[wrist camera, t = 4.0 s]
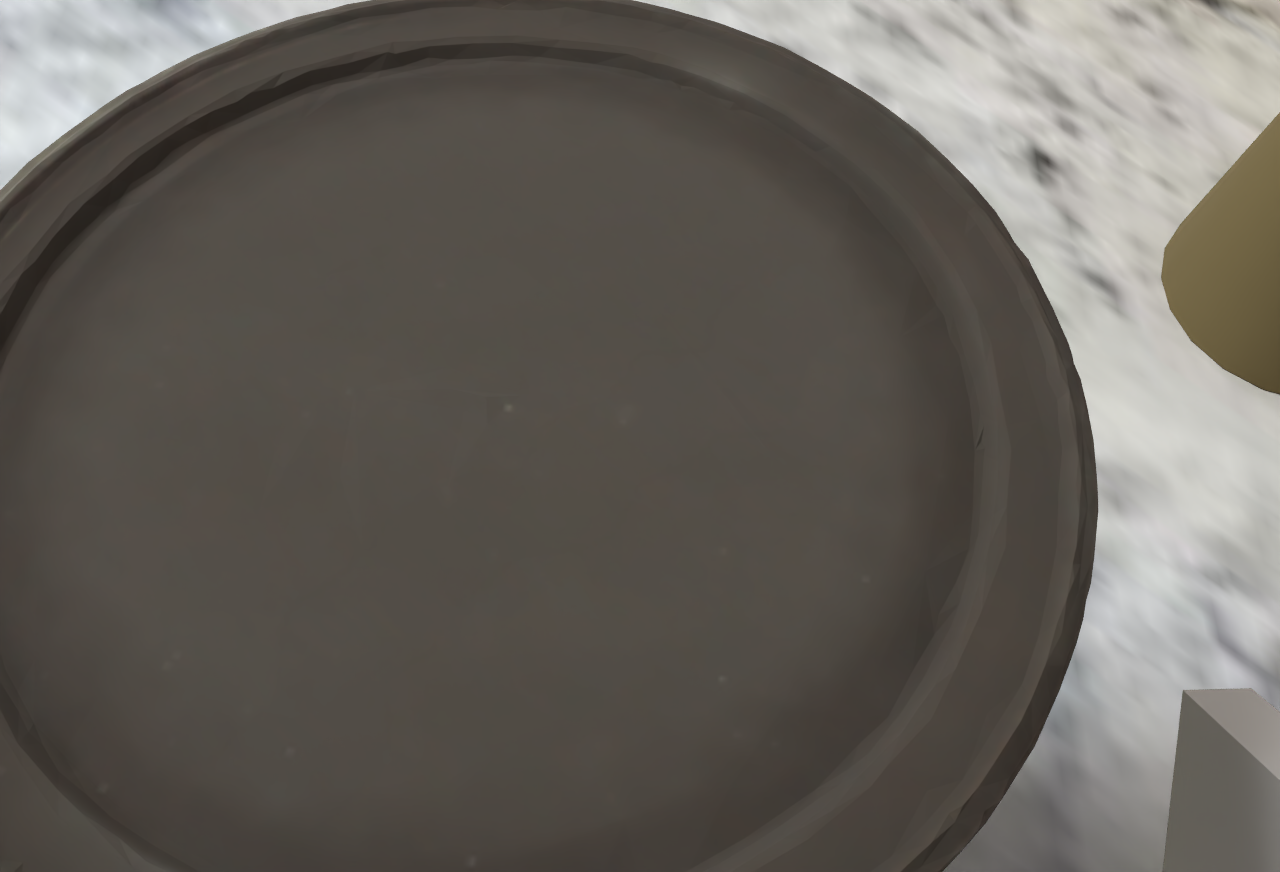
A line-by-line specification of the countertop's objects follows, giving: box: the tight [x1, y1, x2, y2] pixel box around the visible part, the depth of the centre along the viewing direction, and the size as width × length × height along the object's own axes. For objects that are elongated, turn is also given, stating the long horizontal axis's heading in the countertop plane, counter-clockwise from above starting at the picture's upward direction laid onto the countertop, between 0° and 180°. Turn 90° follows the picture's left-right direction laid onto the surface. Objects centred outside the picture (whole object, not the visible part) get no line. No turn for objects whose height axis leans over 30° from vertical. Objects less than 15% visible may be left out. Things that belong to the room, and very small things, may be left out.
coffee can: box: [0, 0, 1098, 872], centre depth 16 cm, size 10×10×14 cm
